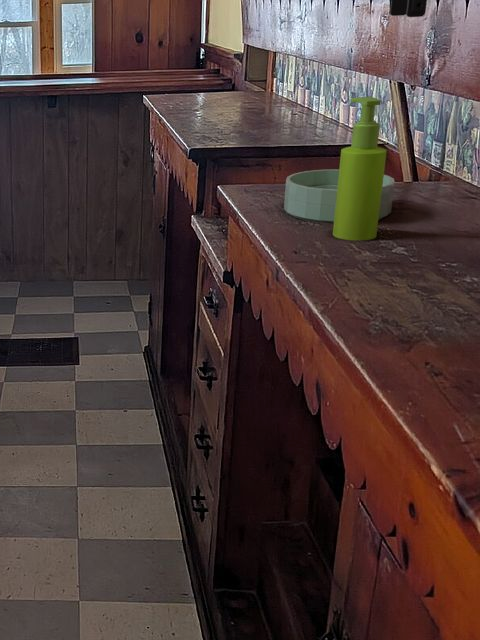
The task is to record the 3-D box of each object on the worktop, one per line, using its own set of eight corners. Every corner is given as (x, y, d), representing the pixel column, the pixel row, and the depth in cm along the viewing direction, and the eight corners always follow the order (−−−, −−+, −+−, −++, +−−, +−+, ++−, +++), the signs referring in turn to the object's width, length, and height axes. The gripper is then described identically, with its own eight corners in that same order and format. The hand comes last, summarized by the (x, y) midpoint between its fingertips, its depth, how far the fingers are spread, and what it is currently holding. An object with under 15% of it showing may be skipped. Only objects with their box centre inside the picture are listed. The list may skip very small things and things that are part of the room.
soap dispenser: (361, 232, 129) (376, 94, 121) (383, 245, 123) (401, 99, 115) (322, 235, 129) (335, 96, 121) (342, 247, 122) (358, 102, 115)
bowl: (402, 207, 142) (406, 173, 140) (373, 230, 130) (377, 193, 128) (303, 198, 151) (306, 166, 149) (268, 219, 139) (271, 185, 137)
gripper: (472, -128, 104) (452, 16, 111) (436, -115, 117) (420, 13, 123) (406, -123, 106) (390, 19, 112) (378, -111, 118) (365, 16, 125)
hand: (406, 16), depth 118 cm, fingers open, 8 cm apart
